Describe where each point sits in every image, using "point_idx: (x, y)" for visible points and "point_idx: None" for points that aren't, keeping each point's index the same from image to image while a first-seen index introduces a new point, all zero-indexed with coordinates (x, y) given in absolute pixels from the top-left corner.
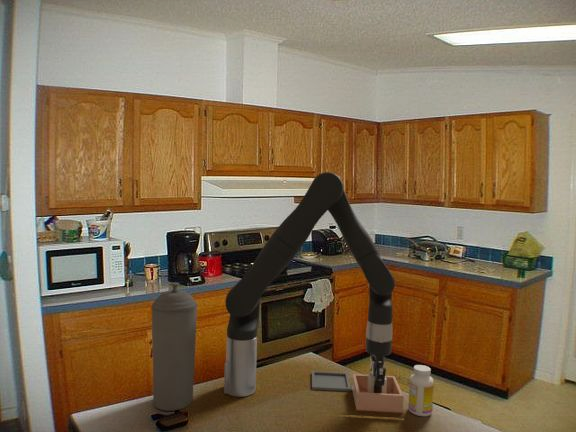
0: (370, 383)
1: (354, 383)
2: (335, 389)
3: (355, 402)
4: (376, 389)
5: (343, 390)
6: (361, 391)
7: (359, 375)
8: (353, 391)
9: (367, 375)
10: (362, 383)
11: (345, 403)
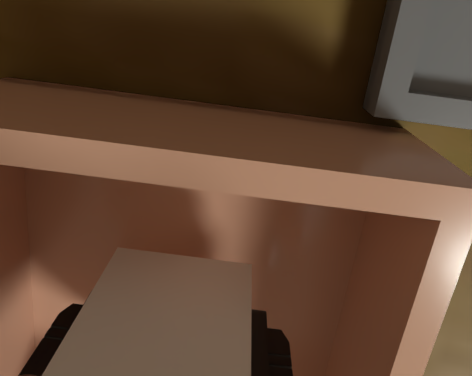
0: (69, 340)
1: (218, 150)
2: None
3: (75, 95)
4: (37, 354)
5: (388, 34)
6: (345, 209)
7: (428, 269)
8: (284, 125)
9: (412, 357)
10: (382, 253)
11: (162, 8)
